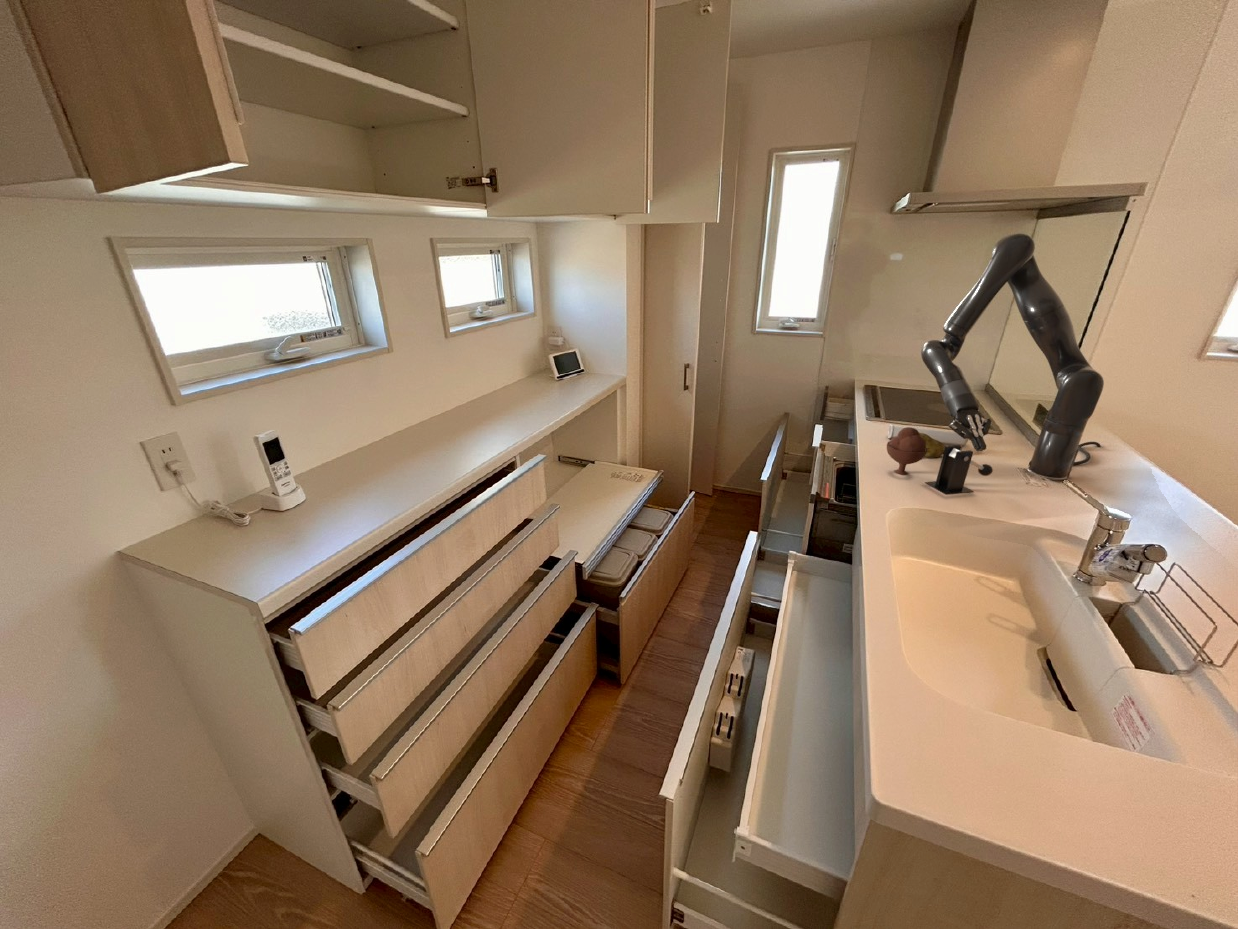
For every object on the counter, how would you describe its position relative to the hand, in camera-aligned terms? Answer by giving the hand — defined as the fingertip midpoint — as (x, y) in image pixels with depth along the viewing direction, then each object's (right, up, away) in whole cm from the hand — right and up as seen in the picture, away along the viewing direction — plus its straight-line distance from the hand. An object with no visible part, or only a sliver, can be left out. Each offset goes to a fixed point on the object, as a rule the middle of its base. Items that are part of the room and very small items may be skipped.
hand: (981, 450), depth 143 cm
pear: (-2, -1, +24) cm, 24 cm away
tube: (+7, +4, +37) cm, 38 cm away
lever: (-6, -5, -3) cm, 8 cm away
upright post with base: (-10, -12, -1) cm, 16 cm away
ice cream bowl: (-18, -8, +9) cm, 22 cm away
